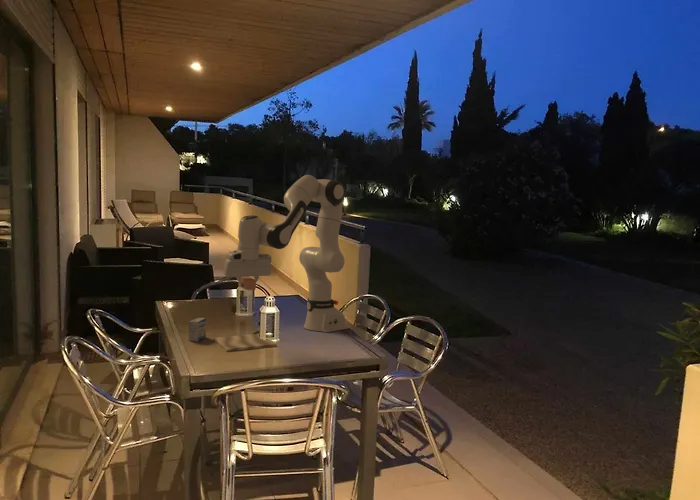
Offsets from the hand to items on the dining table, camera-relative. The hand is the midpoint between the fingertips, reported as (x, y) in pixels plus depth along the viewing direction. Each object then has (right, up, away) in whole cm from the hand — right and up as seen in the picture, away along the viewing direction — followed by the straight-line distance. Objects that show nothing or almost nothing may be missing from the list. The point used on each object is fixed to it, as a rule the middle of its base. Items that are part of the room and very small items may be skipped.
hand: (247, 286), depth 239 cm
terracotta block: (-3, +2, +5) cm, 6 cm away
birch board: (-2, -25, +4) cm, 25 cm away
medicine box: (-23, -23, +6) cm, 33 cm away
